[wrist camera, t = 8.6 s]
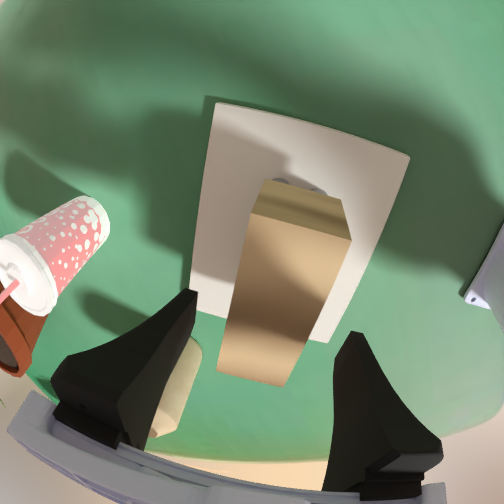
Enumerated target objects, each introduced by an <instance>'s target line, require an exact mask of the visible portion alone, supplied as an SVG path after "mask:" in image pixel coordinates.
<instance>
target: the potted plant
mask: <svg viewBox="0 0 504 504" xmlns="http://www.w3.org/2000/svg"><path fill="white" fill-rule="evenodd" d="M4 290H5V288H4V286H3V284H2V283H1V281H0V294H1V293H2V292H3V291H4ZM48 314H49V313H48ZM48 314H47V315H45V316H37V315H33V314H32V313H30V312H28V311H26V310H25V309H23V308H22V307H21V306H20V305H19V304H18V303H17V302H16V301H15V300H13V298H12V297H11V296H10V295H9V296H8V297H7V298H6V299H5V300H4V301H3V302H2V303H1V304H0V368H1V369H2V370H4V371H5V372H7V373H9V374H11V375H12V376H15V377H21V376H23V375H24V373H25V372H26V370H27V369H28V368H29V366H30V365H31V364H32V357H31V354H32V352H33V349H34V347H35V344H36V342H37V339H38V337H39V335H40V332H41V330H42V328H43V325H44V323H45V321H46V318H47V316H48ZM0 401H1V399H0ZM2 403H3V402H2Z"/></svg>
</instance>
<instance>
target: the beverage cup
mask: <svg viewBox="0 0 504 504" xmlns="http://www.w3.org/2000/svg"><path fill="white" fill-rule="evenodd" d="M109 233H110V222H109V219H108V216H107V213H106V211H105V210H104V209H103V207H102V206H101V204H100V203H99V202H97V201H96V200H95V199H93V198H91V197H88V196H79V197H76V198H74V199H72V200H70V201H69V202H67V203H65V204H63V205H61V206H60V207H58V208H56V209H54V210H52V211H51V212H49V213H47V214H45V215H44V216H42V217H40V218H39V219H37V220H35V221H34V222H32V223H30V224H29V225H27V226H25V227H24V228H22V229H20V230H19V231H17V232H16V233H14V234H8V235H5V236H4V237H3V238H0V281H1V283H2V284H3V286H4V288H5V290H4V291H3V292H2V293H1V294H0V304H1V303H2V302H3V301H4V300H5V299H6V298H7V297H8V296H9V295H10V296H11V297H12V298H13V300H15V301H16V302H17V303H18V304H19V305H20V306H21V307H22V308H23V309H25V310H26V311H28V312H30V313H32V314H33V315H37V316H45V315H47V314H48V313H50V312H51V311H52V308H53V307H54V306H55V305H56V302H57V298H58V296H59V295H60V293H61V292H62V291H63V290H64V288H65V287H66V286H67V285H68V284H69V282H70V281H71V280H72V279H73V277H74V276H75V275H76V274H77V273H78V271H79V270H80V269H81V268H82V267H83V266H84V264H85V263H86V262H87V261H88V260H89V259H90V257H91V256H92V255H93V254H94V253H95V252H96V251H97V249H98V248H99V247H100V246H101V245H102V244H103V243H104V242H105V241H106V239H107V237H108V235H109Z"/></svg>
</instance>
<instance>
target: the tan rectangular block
mask: <svg viewBox="0 0 504 504" xmlns="http://www.w3.org/2000/svg"><path fill="white" fill-rule="evenodd" d="M351 242H352V239H351V235H350V231H349V227H348V223H347V220H346V216H345V212H344V209H343V205H342V202H341V199H338V198H334V197H331V196H328V195H324V194H321V193H317V192H314V191H310V190H307V189H303V188H299V187H296V186H292V185H288V184H285V183H281V182H277V181H273V180H269V179H265V181H264V183H263V185H262V188H261V190H260V192H259V195H258V197H257V199H256V202H255V204H254V206H253V209H252V211H251V214H250V218H249V223H248V227H247V232H246V236H245V241H244V245H243V249H242V254H241V258H240V263H239V267H238V272H237V276H236V281H235V285H234V290H233V294H232V299H231V304H230V308H229V313H228V317H227V322H226V326H225V331H224V336H223V340H222V345H221V349H220V354H219V359H218V363H217V368H216V371H219V372H222V373H226V374H229V375H233V376H237V377H241V378H245V379H249V380H253V381H257V382H261V383H266V384H270V385H274V386H279V387H283V386H284V385H285V383H286V381H287V379H288V377H289V375H290V373H291V371H292V369H293V368H294V366H295V364H296V362H297V360H298V358H299V356H300V354H301V352H302V350H303V348H304V346H305V344H306V342H307V340H308V338H309V336H310V334H311V332H312V330H313V328H314V326H315V323H316V321H317V319H318V317H319V315H320V313H321V311H322V309H323V306H324V304H325V302H326V300H327V298H328V296H329V293H330V291H331V289H332V287H333V284H334V282H335V280H336V278H337V275H338V273H339V271H340V268H341V266H342V264H343V261H344V259H345V257H346V254H347V252H348V249H349V247H350V245H351Z"/></svg>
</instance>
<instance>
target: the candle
mask: <svg viewBox="0 0 504 504" xmlns="http://www.w3.org/2000/svg"><path fill="white" fill-rule="evenodd" d="M201 360H202V349H201V347H200V346H199V344H198V343H197V342H196V341H195V340H194V339H193V338H192V337H189V340H188V342H187V344H186V346H185V348H184V350H183V352H182V354H181V356H180V358H179V360H178V362H177V364H176V366H175V368H174V369H173V371H172V373H171V375H170V377H169V379H168V382H167V384H166V386H165V389H164V392H163V394H162V397H161V400H160V402H159V405H158V408H157V411H156V414H155V417H154V420H153V423H152V426H151V429H150V432H149V435H148V437H153V438H156V437H158V436H161V435H164V434H167V433H170V432H172V431H175V430H176V429H177V426H178V424H179V421H180V418H181V415H182V412H183V410H184V407H185V404H186V401H187V399H188V396H189V393H190V390H191V388H192V385H193V382H194V379H195V377H196V374H197V371H198V368H199V366H200V363H201Z"/></svg>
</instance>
